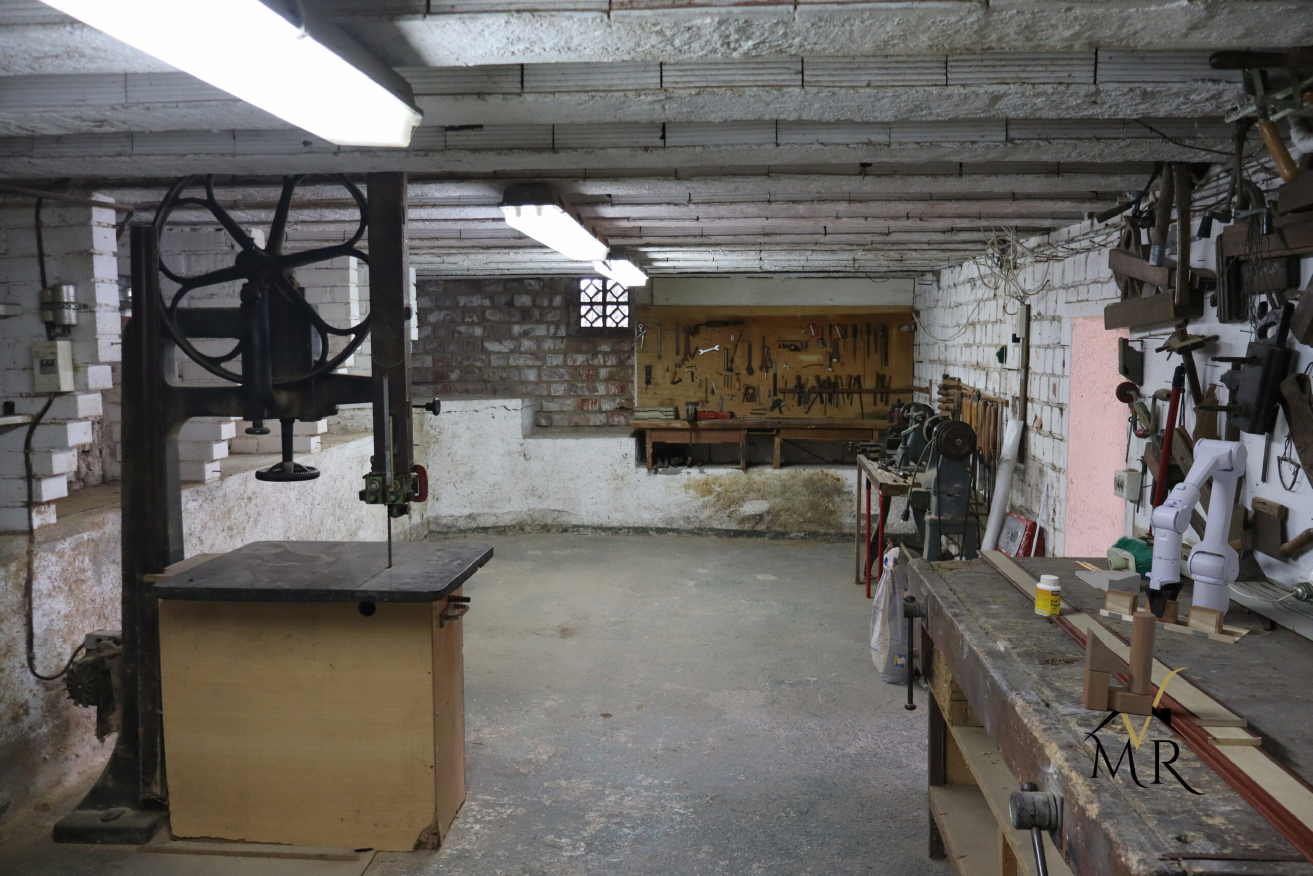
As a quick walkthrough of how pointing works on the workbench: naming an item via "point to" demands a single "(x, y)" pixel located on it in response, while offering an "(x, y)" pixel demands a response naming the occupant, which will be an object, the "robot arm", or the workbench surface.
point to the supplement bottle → (1048, 596)
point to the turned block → (1167, 612)
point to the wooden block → (1121, 670)
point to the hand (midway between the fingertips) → (1162, 614)
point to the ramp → (1111, 579)
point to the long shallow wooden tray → (1228, 632)
